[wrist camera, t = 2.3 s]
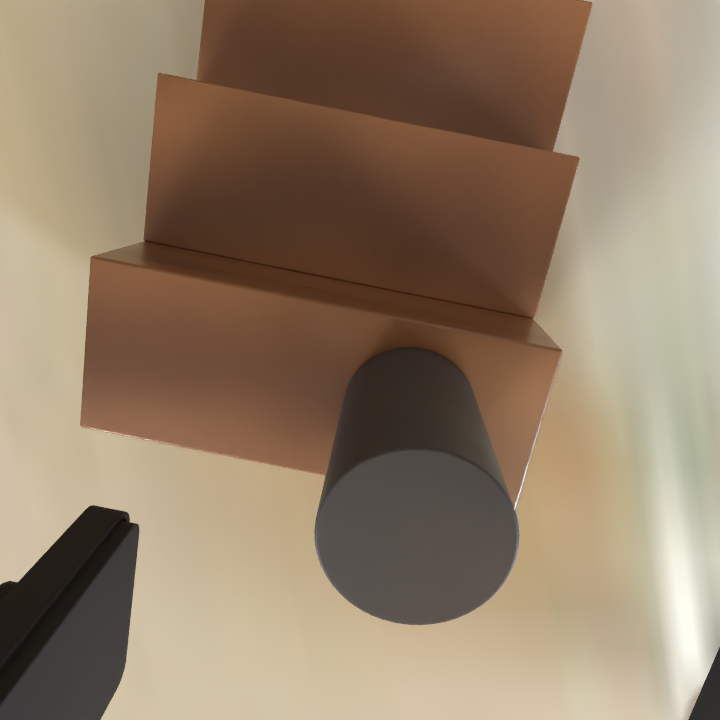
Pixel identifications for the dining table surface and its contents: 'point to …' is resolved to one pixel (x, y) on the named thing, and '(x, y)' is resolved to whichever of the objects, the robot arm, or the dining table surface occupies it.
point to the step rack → (340, 223)
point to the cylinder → (414, 494)
